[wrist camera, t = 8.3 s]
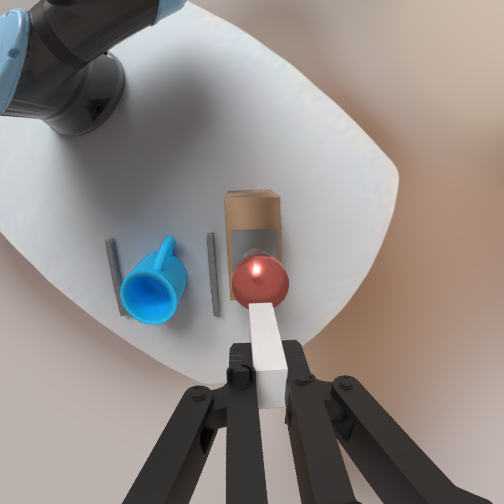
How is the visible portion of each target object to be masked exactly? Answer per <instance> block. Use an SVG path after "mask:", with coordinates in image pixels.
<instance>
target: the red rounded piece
mask: <svg viewBox="0 0 504 504" xmlns="http://www.w3.org/2000/svg"><path fill="white" fill-rule="evenodd" d="M288 288H289V280H288V276H287V274H286V271H285V269H284V267H283V265H282V264H281V263H280V262H279V261H278V260H277V259H276V258H274V257H273V256H270V255H269V254H268V253H267V252H266V251H265V250H263V249H261V248H252V249H250V250H248V251H246V252H245V253H244V255H243V257H242V259H241V261H240V262H239V263H238V264H237V266H236V267H235V269H234V272H233V276H232V291H233V294H234V297H235V298H236V300H237V301H238V302H239V303H240V304H241V305H242V306H244V307H245V308H247V309H249V304H252V303H272V305H273V308H274V307H276V306H277V305H278V304H280V303H281V302H282V301H283V299H284V298H285V296H286V294H287V292H288Z"/></svg>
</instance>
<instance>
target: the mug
mask: <svg viewBox="0 0 504 504" xmlns="http://www.w3.org/2000/svg"><path fill="white" fill-rule="evenodd" d="M174 246H175V238H174V237H173V236H167V237H166V238H165V240H164V241H163V243H162V245H161V247H160V249H159V252H153V253H151V254H149V255H147V256H146V257H145V258H144V259H143V260H142V261H141V262H140V263H139V264H138V265H137V266H136V267H135V268H134V269H133V270H132V272H131V273H130V274H129V275H128V276H127V277H126V278H125V279H124V280H123V283H122V285H121V288H120V297H121V300H122V304H123V306H124V307H125V309H126V311H127V312H128V313H129V314H130V315H131V316H132V317H133V318H134V319H136V320H138V321H140V322H142V323H145V324H149V325H158V324H161V323H164V322H166V321H168V320H169V319H170V318H171V317H172V316H173V314H174V312H175V311H176V308H177V306H178V303H179V301H180V299H181V296H182V294H183V291H184V289H185V286H186V282H187V274H186V269H185V267H184V266H183V264H182V262H181V261H180V260H179V259H178V258H177V257H175V256H174V255H172V254H173V250H174Z"/></svg>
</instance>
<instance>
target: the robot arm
mask: <svg viewBox="0 0 504 504" xmlns="http://www.w3.org/2000/svg"><path fill="white" fill-rule="evenodd" d="M186 1H187V0H40V1H39V2H38V3H37V4H36V5H34V6H33V7H32V8H31V9H30V10H29V11H27V10H26V9H24V8H23V9H22V8H21V9H13V10H11V11H9V12H7V13H5V14H4V15H2V16H1V17H0V116H13V117H24V118H33V119H41V120H43V121H44V122H45V123H46V124H47V125H49V126H50V127H51V128H52V129H53V130H54V131H56V132H58V133H61V134H65V135H74V136H75V135H82V134H86V133H88V132H90V131H92V130H94V129H95V128H97V127H98V126H100V125H101V124H102V123H103V122H104V121H105V120H106V119H107V118H108V117H109V116H110V114H111V113H112V112H113V110H114V109H115V107H116V105H117V103H118V101H119V99H120V97H121V94H122V91H123V86H124V71H123V67H122V65H121V63H120V61H119V60H118V59H117V57H115V56H114V55H113V54H112V53H110V52H109V51H108V50H109V49H111V48H113V47H114V46H116V45H117V44H119V43H120V42H122V41H124V40H125V39H127V38H129V37H130V36H132V35H134V34H135V33H137V32H139V31H141V30H143V29H144V28H146V27H148V26H154V25H155V24H157V23H158V22H159V21H160V20H162V19H163V18H165V17H167V16H169V15H171V14H173V13H175V12H177V11H179V10H180V9H181V8H182V7H183V6H184V5H185V3H186ZM249 337H250V343H233V345H232V346H231V348H230V354H229V368H228V369H227V372H226V373H227V383H226V384H225V385H224V386H223V387H221V388H218V389H215V390H210V389H209V388H208V387H205V386H193V387H190V388H189V389H187V390H186V391H185V393H184V395H183V396H182V398H181V400H180V402H179V404H178V405H177V407H176V409H175V411H174V413H173V415H172V416H171V418H170V420H169V421H168V423H167V425H166V427H165V429H164V430H163V432H162V434H161V436H160V437H159V439H158V441H157V443H156V445H155V446H154V448H153V450H152V452H151V453H150V456H149V457H148V459H147V461H146V462H145V464H144V466H143V468H142V469H141V471H140V473H139V475H138V476H137V478H136V480H135V482H134V483H133V485H132V487H131V489H130V490H129V492H128V494H127V496H126V498H125V499H124V501H123V503H122V504H189V502H190V499H191V497H192V494H193V492H194V490H195V487H196V485H197V482H198V480H199V477H200V475H201V472H202V470H203V467H204V465H205V462H206V460H207V457H208V454H209V452H210V449H211V447H212V444H213V441H214V439H215V436H216V434H217V431H218V429H219V428H223V427H227V436H226V437H227V438H226V439H227V440H226V504H268V500H267V490H266V481H265V471H264V461H263V451H262V440H261V430H260V420H259V409H268V408H282V407H285V404H286V416H285V424H287V425H288V431H289V436H290V442H291V447H292V453H293V458H294V464H295V469H296V475H297V481H298V486H299V492H300V497H301V503H302V504H362V503H360V502H357V500H356V499H355V496H354V493H353V490H352V487H351V483H350V480H349V477H348V474H347V471H346V468H345V464H344V461H343V458H342V455H341V452H340V449H339V445H338V442H337V439H338V440H339V442H340V443H341V445H342V446H343V448H344V449H345V450H346V452H347V453H348V455H349V456H350V458H351V459H352V461H353V462H354V463H355V465H356V466H357V468H358V469H359V471H360V472H361V473H362V475H363V476H364V477H365V479H366V480H367V482H368V483H369V484H370V486H371V487H372V488H373V490H374V491H375V493H376V494H377V495H378V497H379V498H380V499H381V501H382V502H383V503H384V504H492V502H490V501H489V500H487V499H484V498H482V497H480V496H477V495H474V494H472V493H470V492H468V491H465V490H463V489H461V488H458V487H456V486H455V485H454V484H453V483H452V482H451V481H450V480H449V479H448V478H447V477H446V476H445V474H444V473H443V472H442V471H441V470H440V469H439V468H438V467H437V466H436V465H435V464H434V463H433V462H432V461H431V459H430V458H428V456H427V455H426V454H425V453H424V452H423V451H422V450H421V449H420V448H419V447H418V445H417V444H416V443H415V442H414V441H413V440H412V439H411V438H410V437H409V436H408V435H407V434H406V432H405V431H404V430H403V429H402V428H401V427H400V426H399V425H398V424H397V423H396V422H395V421H394V419H393V418H392V417H391V416H390V415H389V414H388V413H387V412H386V411H385V410H384V409H383V407H382V406H381V405H379V403H378V402H377V401H376V400H375V399H374V398H373V397H372V395H371V394H369V392H368V391H367V390H366V389H365V388H364V387H363V386H362V385H361V383H360V382H359V381H358V380H357V379H355V378H354V377H351V376H345V375H344V376H339V377H337V378H335V380H334V381H333V382H324V381H320V380H318V379H316V378H315V376H314V375H313V374H311V373H310V370H309V367H308V364H307V361H306V358H305V355H304V352H303V349H302V346H301V344H300V343H299V342H298V341H297V340H285V341H281V338H280V334H279V330H278V326H277V322H276V317H275V313H274V309H273V305H272V303H252V304H249ZM336 438H337V439H336Z"/></svg>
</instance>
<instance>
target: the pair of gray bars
mask: <svg viewBox="0 0 504 504" xmlns="http://www.w3.org/2000/svg"><path fill="white" fill-rule="evenodd" d="M106 248H107V254H108V260H109V265H110V270H111V275H112V280H113V285H114V290H115V294H116V298H117V303H118V307H119V311H120V315H121V316H125V315H126V314H127V311H126V309H125V307H124V306H123V304H122V300H121V297H120V288H121V285H122V284H121V279H120V274H119V268H118V263H117V257H116V251H115V245H114V239H109V240H107V241H106ZM207 248H208V261H209V272H210V283H211V294H212V304H213V313H214V316H219V302H218V291H217V279H216V267H215V254H214V240H213V233H208V234H207Z"/></svg>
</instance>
